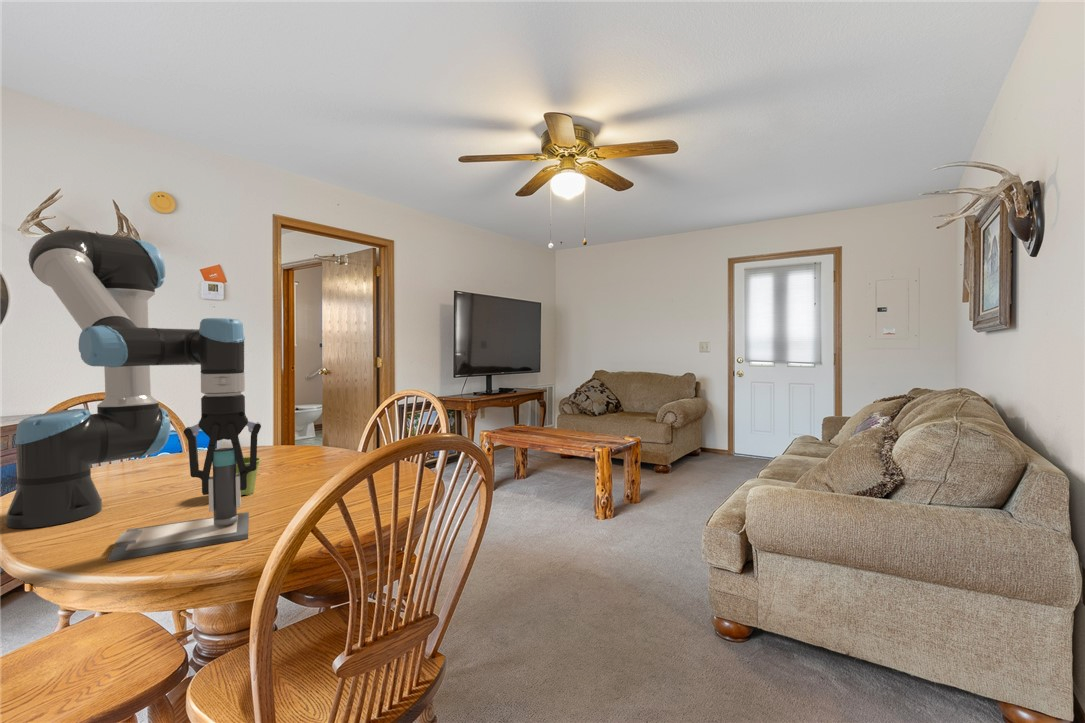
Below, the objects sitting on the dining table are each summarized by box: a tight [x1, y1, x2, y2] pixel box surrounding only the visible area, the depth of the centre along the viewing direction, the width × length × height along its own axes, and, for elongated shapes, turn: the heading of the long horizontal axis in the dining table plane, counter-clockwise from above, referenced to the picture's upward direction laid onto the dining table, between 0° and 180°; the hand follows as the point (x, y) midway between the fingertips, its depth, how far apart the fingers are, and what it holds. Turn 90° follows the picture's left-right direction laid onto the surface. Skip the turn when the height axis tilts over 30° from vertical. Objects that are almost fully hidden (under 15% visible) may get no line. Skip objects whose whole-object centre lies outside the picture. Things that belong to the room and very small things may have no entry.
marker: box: [212, 447, 238, 526], centre depth 101 cm, size 4×4×15 cm
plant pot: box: [236, 456, 262, 496], centre depth 128 cm, size 9×9×9 cm
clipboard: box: [108, 511, 250, 563], centre depth 98 cm, size 21×15×2 cm
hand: (225, 507), depth 102 cm, fingers closed on marker, 4 cm apart
